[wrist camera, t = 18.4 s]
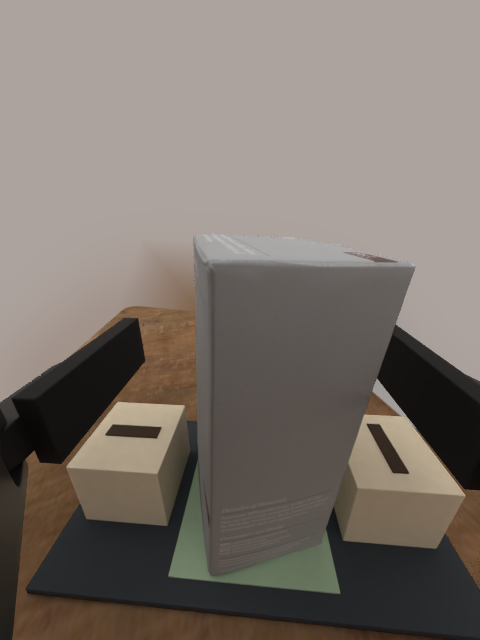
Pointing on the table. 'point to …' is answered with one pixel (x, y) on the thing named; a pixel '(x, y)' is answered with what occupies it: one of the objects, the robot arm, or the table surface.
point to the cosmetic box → (283, 384)
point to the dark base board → (279, 573)
